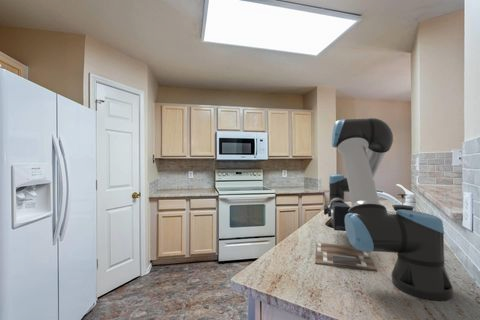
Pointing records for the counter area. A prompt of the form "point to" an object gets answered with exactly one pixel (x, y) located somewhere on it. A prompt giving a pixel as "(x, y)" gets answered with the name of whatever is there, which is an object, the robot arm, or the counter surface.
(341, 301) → the counter surface
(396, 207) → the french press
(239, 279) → the counter surface
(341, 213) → the small box
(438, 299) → the robot arm
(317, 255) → the keyhole plate
